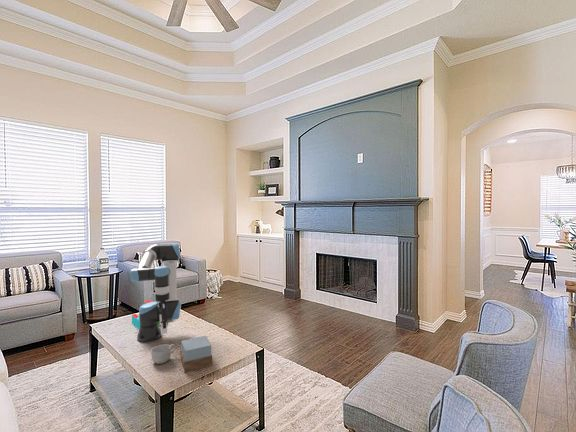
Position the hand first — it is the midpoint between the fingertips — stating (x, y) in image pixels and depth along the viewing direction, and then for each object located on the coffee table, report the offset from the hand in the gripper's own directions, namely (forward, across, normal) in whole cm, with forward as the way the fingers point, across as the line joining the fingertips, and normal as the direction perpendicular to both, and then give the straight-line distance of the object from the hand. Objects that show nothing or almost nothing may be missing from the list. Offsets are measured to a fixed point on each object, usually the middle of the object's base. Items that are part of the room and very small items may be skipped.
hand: (163, 329), depth 177 cm
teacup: (+19, 0, 0) cm, 19 cm away
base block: (+19, +12, +16) cm, 27 cm away
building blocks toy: (+19, -68, -2) cm, 70 cm away
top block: (+13, +12, +16) cm, 24 cm away
